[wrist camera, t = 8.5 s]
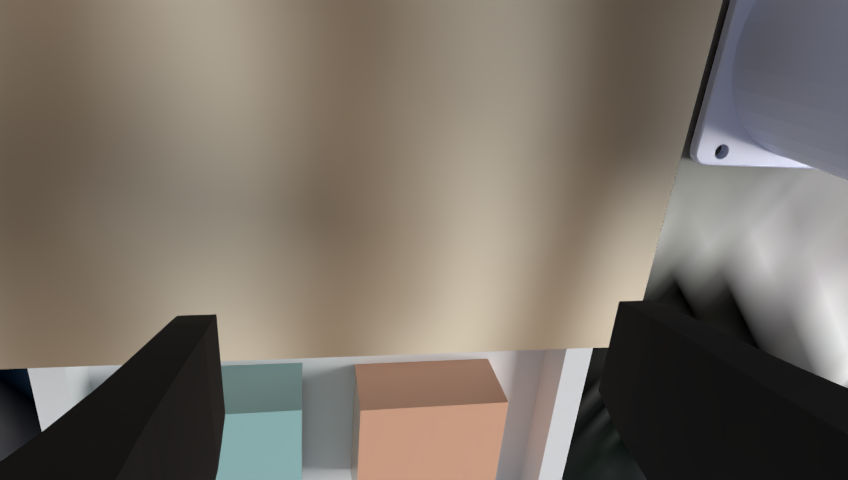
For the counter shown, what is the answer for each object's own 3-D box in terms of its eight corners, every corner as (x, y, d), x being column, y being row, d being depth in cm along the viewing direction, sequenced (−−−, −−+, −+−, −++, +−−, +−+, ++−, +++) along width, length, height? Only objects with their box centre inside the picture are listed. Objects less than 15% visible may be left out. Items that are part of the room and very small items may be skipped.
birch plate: (689, -243, 15) (806, -313, 12) (576, 286, 22) (630, 346, 18) (-91, -395, 12) (-268, -562, 8) (47, 293, 18) (-19, 370, 14)
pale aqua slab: (301, 524, 20) (302, 470, 22) (301, 410, 18) (302, 362, 20) (146, 539, 19) (163, 480, 21) (128, 419, 17) (150, 368, 19)
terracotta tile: (489, 510, 21) (472, 459, 24) (508, 402, 19) (487, 358, 22) (355, 523, 20) (350, 469, 23) (360, 410, 18) (354, 364, 21)
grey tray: (576, 286, 22) (601, 313, 20) (531, 500, 26) (547, 539, 24) (47, 293, 18) (17, 327, 16) (96, 540, 22) (77, 589, 21)
